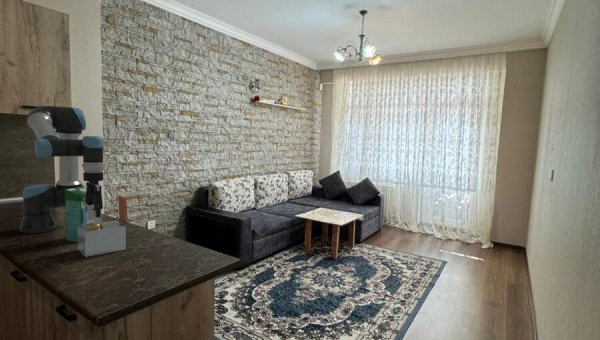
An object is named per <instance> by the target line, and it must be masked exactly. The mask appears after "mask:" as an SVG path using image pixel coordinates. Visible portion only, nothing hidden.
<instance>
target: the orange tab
mask: <svg viewBox="0 0 600 340" xmlns="http://www.w3.org/2000/svg"><path fill="white" fill-rule="evenodd" d="M117 197H118V214H119V215H118V220H119V222H120V223H122V224H123V225H129V221H128V203H127V200H128V199H127V197H126V196H123V195H121V194H118V196H117Z"/></svg>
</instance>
